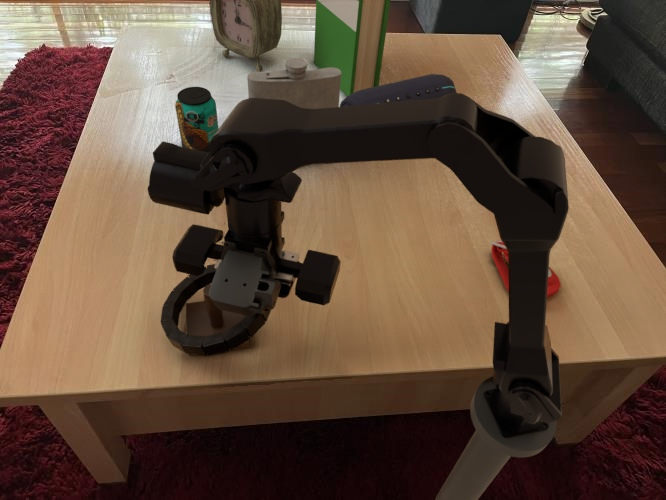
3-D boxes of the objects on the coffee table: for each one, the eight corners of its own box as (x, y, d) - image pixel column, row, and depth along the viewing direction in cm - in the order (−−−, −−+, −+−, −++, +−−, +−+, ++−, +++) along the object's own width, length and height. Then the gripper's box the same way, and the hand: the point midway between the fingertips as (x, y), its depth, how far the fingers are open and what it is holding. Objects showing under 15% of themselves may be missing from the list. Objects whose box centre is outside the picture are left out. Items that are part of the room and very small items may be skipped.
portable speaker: (357, 155, 102) (362, 110, 95) (332, 128, 108) (336, 84, 101) (458, 127, 112) (470, 84, 104) (431, 104, 118) (440, 61, 110)
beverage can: (175, 152, 100) (164, 95, 91) (202, 136, 104) (194, 80, 95) (202, 167, 97) (193, 110, 88) (228, 150, 101) (223, 94, 92)
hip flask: (332, 150, 103) (340, 52, 89) (337, 162, 101) (345, 64, 86) (251, 157, 100) (245, 57, 85) (254, 170, 97) (248, 69, 83)
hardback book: (377, 92, 120) (393, -20, 102) (349, 98, 117) (360, -15, 100) (340, 57, 130) (348, -49, 113) (313, 62, 127) (318, -46, 110)
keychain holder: (565, 266, 83) (565, 300, 75) (548, 285, 86) (546, 320, 78) (498, 228, 85) (491, 257, 76) (483, 248, 87) (475, 278, 79)
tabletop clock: (215, 57, 126) (203, -59, 108) (241, 44, 131) (234, -68, 113) (259, 78, 121) (255, -41, 103) (285, 64, 126) (285, -51, 108)
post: (249, 347, 71) (245, 310, 65) (188, 356, 70) (179, 319, 64) (243, 300, 76) (239, 263, 70) (186, 308, 75) (178, 270, 69)
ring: (269, 260, 75) (265, 250, 74) (276, 339, 64) (271, 329, 63) (172, 285, 76) (166, 275, 74) (162, 368, 65) (155, 358, 63)
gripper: (136, 251, 51) (163, 340, 63) (320, 293, 49) (314, 378, 60) (184, 182, 59) (201, 273, 70) (346, 216, 57) (336, 304, 68)
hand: (260, 306), depth 67 cm, fingers closed on ring, 2 cm apart
